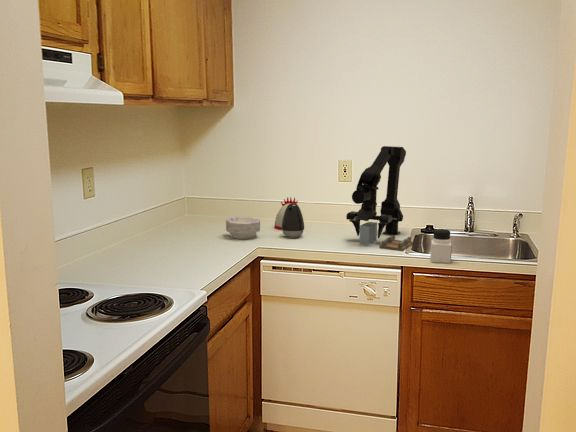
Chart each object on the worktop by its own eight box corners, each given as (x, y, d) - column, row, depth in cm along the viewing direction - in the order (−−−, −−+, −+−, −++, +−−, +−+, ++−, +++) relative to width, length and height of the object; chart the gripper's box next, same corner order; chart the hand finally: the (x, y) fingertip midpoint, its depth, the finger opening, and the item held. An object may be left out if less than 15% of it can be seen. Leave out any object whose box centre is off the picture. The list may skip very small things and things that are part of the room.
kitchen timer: (303, 231, 275) (303, 199, 272) (274, 230, 275) (274, 199, 272) (303, 225, 289) (303, 194, 286) (275, 224, 289) (275, 194, 286)
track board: (390, 241, 254) (390, 234, 253) (413, 244, 249) (413, 237, 248) (379, 248, 242) (379, 241, 241) (402, 251, 237) (403, 243, 236)
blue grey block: (368, 239, 258) (368, 221, 257) (376, 240, 256) (377, 222, 255) (359, 244, 249) (360, 225, 248) (368, 245, 247) (369, 226, 246)
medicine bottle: (450, 263, 218) (452, 231, 216) (431, 262, 220) (432, 231, 218) (449, 258, 225) (451, 228, 223) (430, 257, 227) (431, 227, 224)
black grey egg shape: (277, 238, 259) (277, 204, 256) (286, 233, 269) (286, 200, 266) (299, 240, 255) (299, 205, 253) (307, 235, 265) (307, 202, 262)
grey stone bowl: (260, 240, 254) (260, 222, 253) (225, 240, 253) (225, 222, 252) (260, 233, 269) (260, 216, 268) (226, 233, 268) (226, 216, 267)
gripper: (341, 201, 247) (340, 238, 250) (384, 205, 238) (382, 243, 241) (351, 198, 256) (350, 233, 259) (393, 201, 248) (391, 237, 251)
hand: (368, 236), depth 252 cm, fingers open, 9 cm apart
